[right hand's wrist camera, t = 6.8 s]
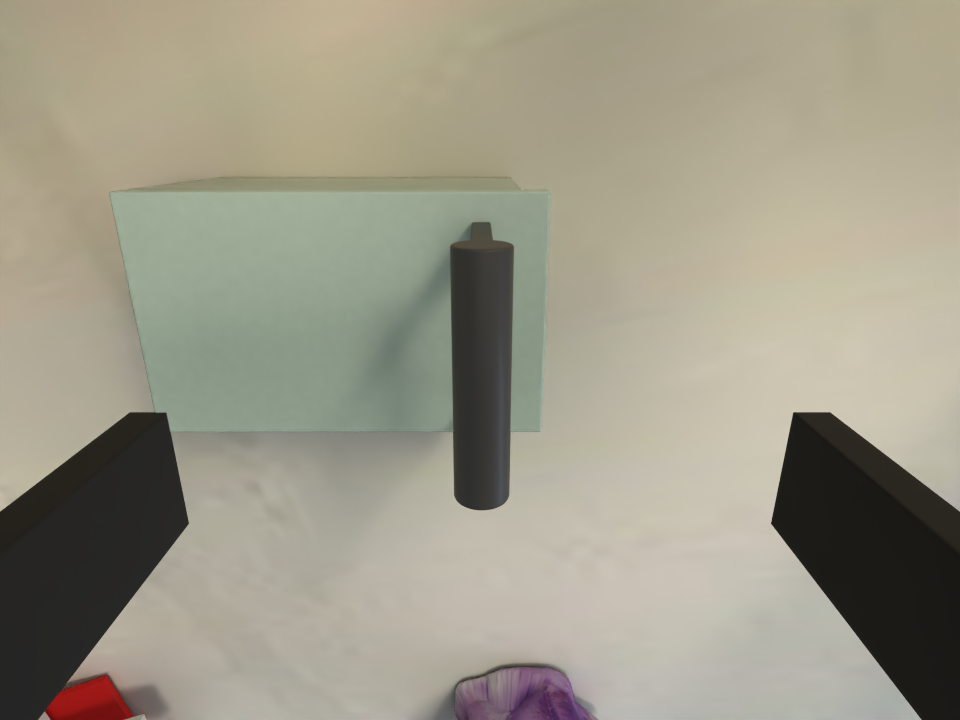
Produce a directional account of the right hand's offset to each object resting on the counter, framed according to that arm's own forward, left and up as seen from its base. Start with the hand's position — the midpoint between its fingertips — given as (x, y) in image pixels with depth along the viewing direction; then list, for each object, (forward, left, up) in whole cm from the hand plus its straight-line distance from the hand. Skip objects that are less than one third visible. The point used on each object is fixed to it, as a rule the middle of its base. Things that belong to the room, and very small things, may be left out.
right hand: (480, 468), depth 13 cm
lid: (+3, -4, -12) cm, 13 cm away
